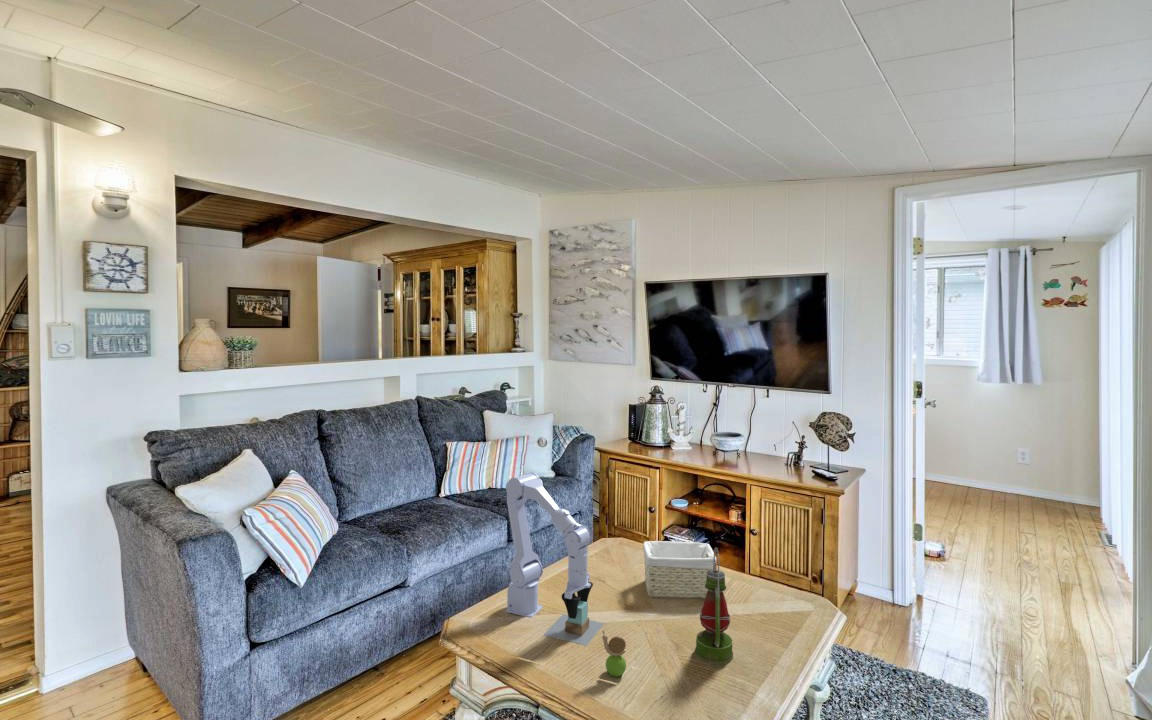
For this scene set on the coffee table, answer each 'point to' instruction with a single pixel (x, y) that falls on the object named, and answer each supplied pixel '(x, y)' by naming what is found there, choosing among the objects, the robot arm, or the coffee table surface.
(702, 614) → the lantern
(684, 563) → the storage basket
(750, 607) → the coffee table surface
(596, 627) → the build plate
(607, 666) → the green toy figure
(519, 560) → the robot arm
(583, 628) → the walnut brick
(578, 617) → the teal brick
